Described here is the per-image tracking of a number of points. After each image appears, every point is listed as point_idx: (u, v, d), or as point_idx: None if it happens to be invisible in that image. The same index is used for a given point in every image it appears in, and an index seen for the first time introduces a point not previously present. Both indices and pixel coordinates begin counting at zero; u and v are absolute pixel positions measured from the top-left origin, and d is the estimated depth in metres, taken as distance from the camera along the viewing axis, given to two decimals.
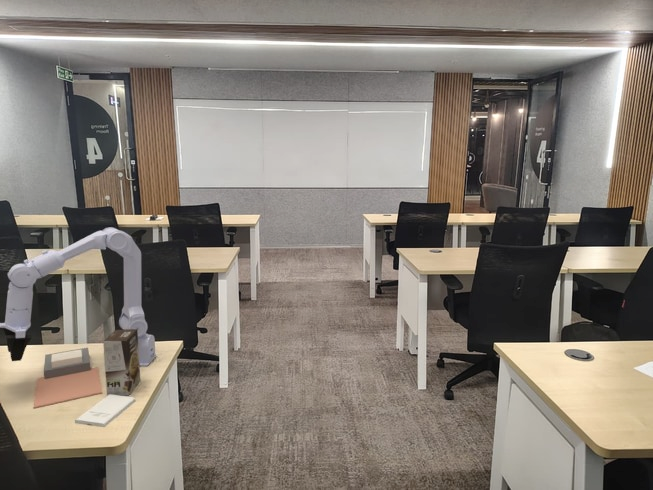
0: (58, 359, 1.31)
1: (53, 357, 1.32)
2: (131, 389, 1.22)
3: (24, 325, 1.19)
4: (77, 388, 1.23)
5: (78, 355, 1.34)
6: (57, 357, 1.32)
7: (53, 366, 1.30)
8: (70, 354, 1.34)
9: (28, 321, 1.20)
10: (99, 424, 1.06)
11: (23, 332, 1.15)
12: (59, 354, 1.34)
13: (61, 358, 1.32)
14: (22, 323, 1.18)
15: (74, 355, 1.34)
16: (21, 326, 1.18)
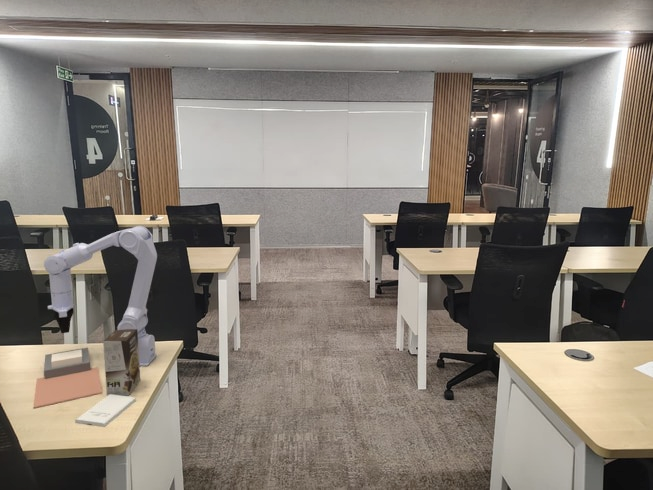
0: (58, 359, 1.31)
1: (53, 357, 1.32)
2: (131, 389, 1.22)
3: (67, 306, 1.36)
4: (77, 388, 1.23)
5: (78, 355, 1.34)
6: (57, 357, 1.32)
7: (53, 366, 1.30)
8: (70, 354, 1.34)
9: (70, 302, 1.37)
10: (99, 424, 1.06)
11: (64, 312, 1.32)
12: (59, 354, 1.34)
13: (61, 358, 1.32)
14: (65, 304, 1.36)
15: (74, 355, 1.34)
16: (64, 307, 1.36)
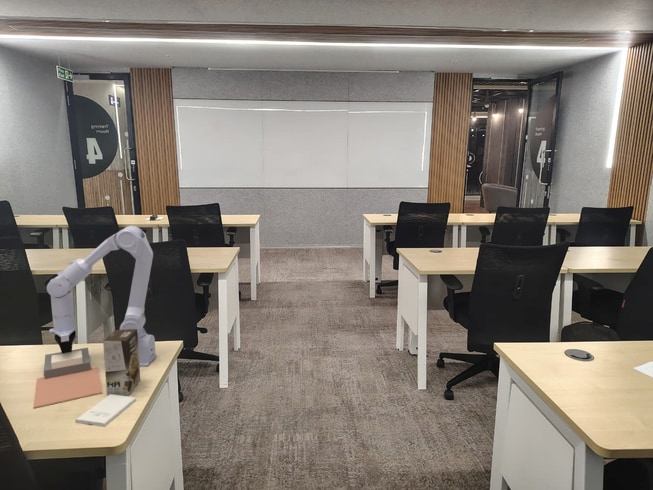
0: (58, 360, 1.30)
1: (53, 358, 1.32)
2: (131, 389, 1.22)
3: (69, 329, 1.34)
4: (77, 388, 1.23)
5: (78, 356, 1.33)
6: (57, 358, 1.31)
7: (53, 367, 1.29)
8: (70, 355, 1.34)
9: (72, 325, 1.35)
10: (99, 424, 1.06)
11: (66, 336, 1.29)
12: (59, 355, 1.34)
13: (61, 359, 1.31)
14: (67, 328, 1.33)
15: (74, 356, 1.33)
16: (66, 330, 1.33)
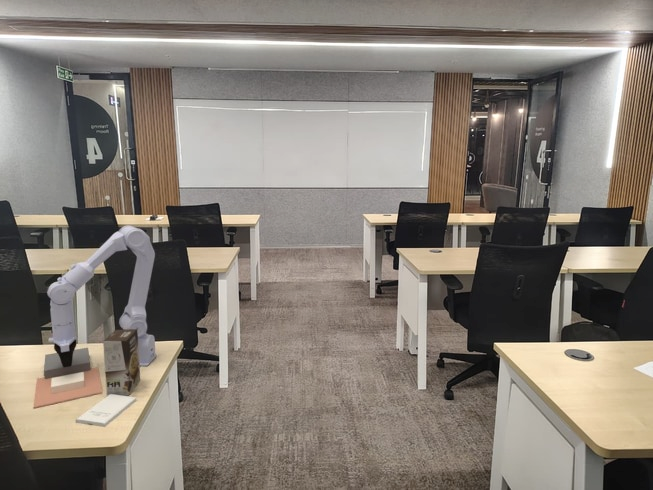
0: None
1: None
2: (131, 389, 1.22)
3: (69, 338, 1.26)
4: (77, 388, 1.23)
5: None
6: None
7: None
8: None
9: (73, 334, 1.28)
10: (100, 424, 1.06)
11: (67, 346, 1.22)
12: None
13: None
14: (67, 337, 1.26)
15: None
16: (66, 339, 1.26)
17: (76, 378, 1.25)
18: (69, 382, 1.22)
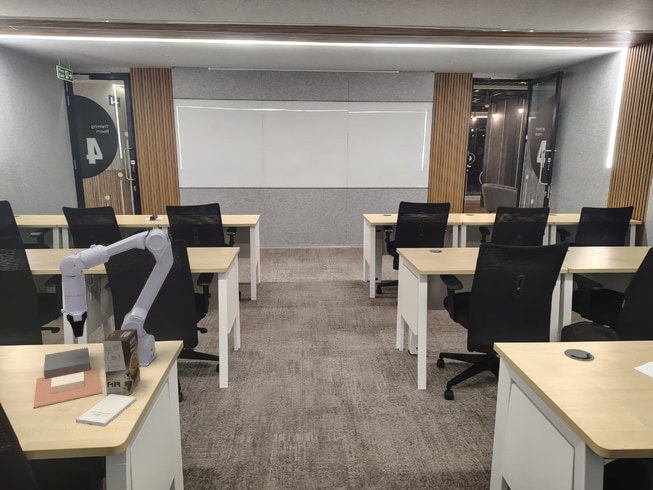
0: None
1: None
2: (131, 389, 1.22)
3: (81, 309, 1.32)
4: (77, 388, 1.23)
5: None
6: None
7: None
8: None
9: (84, 305, 1.33)
10: (100, 423, 1.06)
11: (79, 315, 1.28)
12: None
13: None
14: (79, 308, 1.32)
15: None
16: (78, 310, 1.32)
17: (76, 378, 1.25)
18: (69, 382, 1.22)
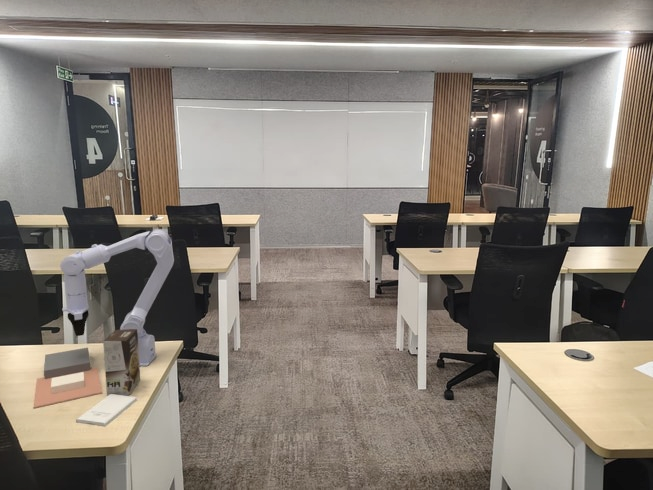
0: None
1: None
2: (131, 389, 1.22)
3: (82, 308, 1.33)
4: (77, 388, 1.23)
5: None
6: None
7: None
8: None
9: (85, 304, 1.34)
10: (100, 423, 1.06)
11: (80, 314, 1.29)
12: None
13: None
14: (80, 306, 1.32)
15: None
16: (79, 309, 1.32)
17: (76, 378, 1.25)
18: (69, 382, 1.22)
